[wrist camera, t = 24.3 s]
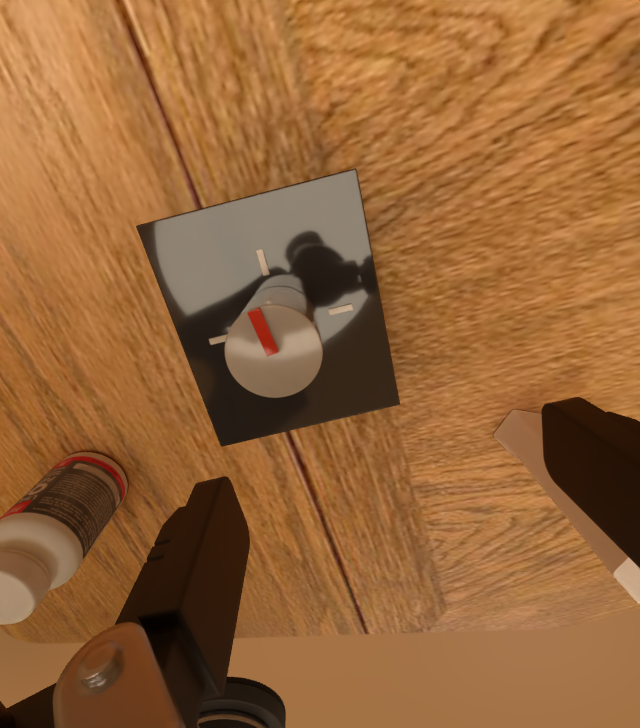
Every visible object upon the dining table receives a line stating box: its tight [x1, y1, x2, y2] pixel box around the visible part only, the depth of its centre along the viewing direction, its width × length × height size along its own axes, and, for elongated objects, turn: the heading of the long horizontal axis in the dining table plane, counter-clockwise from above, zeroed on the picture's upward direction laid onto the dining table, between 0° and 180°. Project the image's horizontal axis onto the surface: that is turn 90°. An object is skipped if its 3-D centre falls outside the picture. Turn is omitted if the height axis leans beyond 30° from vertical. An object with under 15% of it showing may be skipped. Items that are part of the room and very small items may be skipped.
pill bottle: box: [0, 452, 128, 625], centre depth 24 cm, size 5×5×10 cm
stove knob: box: [224, 286, 323, 398], centre depth 19 cm, size 4×4×6 cm
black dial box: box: [136, 169, 400, 446], centre depth 23 cm, size 14×12×3 cm
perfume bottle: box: [494, 410, 640, 604], centre depth 22 cm, size 5×4×15 cm
